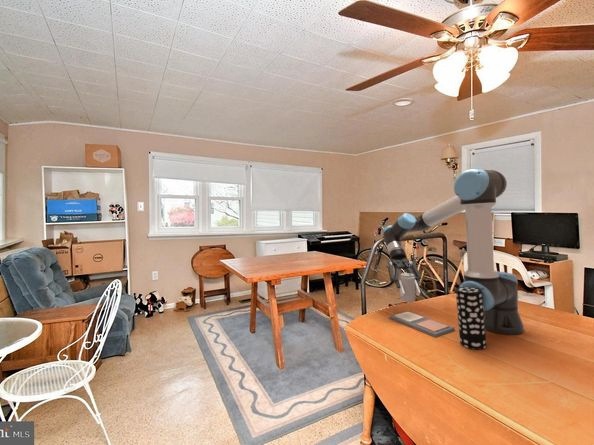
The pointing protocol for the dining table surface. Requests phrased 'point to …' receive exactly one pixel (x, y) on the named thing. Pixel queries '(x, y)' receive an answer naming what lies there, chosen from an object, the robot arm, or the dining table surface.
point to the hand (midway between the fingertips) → (410, 294)
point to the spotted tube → (471, 317)
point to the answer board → (422, 323)
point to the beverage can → (408, 287)
